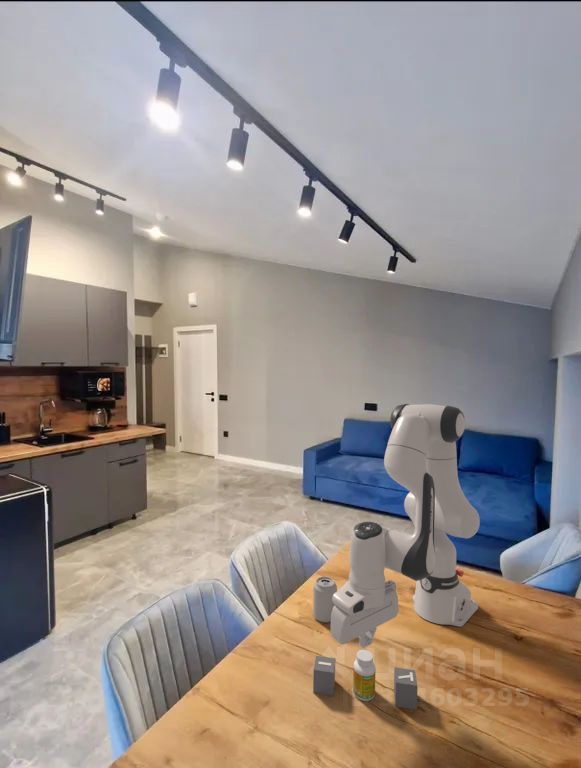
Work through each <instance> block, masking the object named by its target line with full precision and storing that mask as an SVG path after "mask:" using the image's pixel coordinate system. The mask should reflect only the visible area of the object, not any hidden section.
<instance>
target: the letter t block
mask: <svg viewBox="0 0 581 768" xmlns="http://www.w3.org/2000/svg"><path fill="white" fill-rule="evenodd" d="M393 668H394V670H393V671H394V673H393V674H394V675H393V695H394V697H393V698H394V706H395V707H398V708H402V709H410V710H416V711H417V710H418V679H417V674H416V670H415V669H409V668H404V667H396V666H394V667H393Z"/></svg>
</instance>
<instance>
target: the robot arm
mask: <svg viewBox="0 0 581 768" xmlns="http://www.w3.org/2000/svg"><path fill="white" fill-rule="evenodd" d="M465 427H466V420H465V415H464V413H463V411H461V409H460V408H458V407H456V406H451V405H441V404H431V403H425V404H424V403H421V404H417V403H416V404H415V403H414V404H409V403H403V404H400V405H397V406H396V407H394V409H393V410H392V411H391V415H390V428H391V429H392V430H391V433H390V435H389V437H388V441H387V446H386V449H385V452H384V457H383V458H384V459H383V467H384V469H385V471H386V473H387V474H388V476H389V477H390V478H391V479H392V480H393V481H395V482H396V483H397V484H398V485H400V486H401V487H403V488H405V489H406V490H407V491H409V492H408V494H406V497H405V499H404V503H403V507H404V511H405V513H406V514H407V516H408V517H409V519H410V520H411V522H412V523H413V525H414V532H413V534H410V533H406V532H402V531H400V530H396V529H394V528H390V527H387V526H383V525H380V524H379V523H377V522H374V521H362V522H360V523H357V524H356V525H354V527H353V528H352V531H351V535H350V540H349V541H350V542H349V551H348V553H349V554H348V562H349V566H350V571H349V574H348V580H347V581H346V582H345V583H344V585H342V586H341V587H340V588H339V589H337V592H336V593H334V595H333V597H332V601H333V603H334V604H335V606H334V607H333V609H332V613H331V622H330V634H331V636H332V638H333V639H334V640H335V641H336V642H337V643H339V644H340V645H345V644H347V643H349V642H350V641H353V640H354V639H356V638H358V643H359V646H360V647H361V648H362V649H365V648H367V647H369V646H371V645H372V644H373V642H374V641H373V640H374V639H373V638H374V637H375V634H376V632H377V627H379V626H381V625H383V624H385V623H387V622H389V621H391V620H393V619H395V618H396V617H397V616H398V614H399V597H398V593H397V583H395V581H393V580H387V581H386V576H385V569H388V570H390V571H394V572H395V573H399V574H401V575H402V576H405V577H407V578H409V579H411V580H413V581H416V584H415V591H414V592H415V593H414V594H413V595H412V601H413V609H414V611H415V613H416V614H417V615H418V616H419V617H421V618H422V619H424V620H426V621H427V622H431V623H433V624H438V625H448V626H450V625H451V626H453V627H455V626H456V627H460V628H461V627H464V625H465V624H466V623H467V622H468V621H469V620H470V618H471V617H472V616H473V615H474V614H475V613H476V612H477V611H478V610H479V604H478V603H477V602H476V601H475V600H474V599H473V598H472V594H471V590H470V589H469V587H468V586H467V585H466V584H464V583H463V582H462V581H460V580H459V577H460V578H462V577H463V576H464V575H465V574H464V570H461V569H460V568H457V550H456V549H457V548H456V547H455V544H454V543H453V541H451V539H450V538H449V537H448V536H447V535H450V536H452V537H456V538H463V539H470V538H472V537H474V535H476V534H477V532H478V531H479V528H480V525H481V524H480V523H481V521H480V520H481V519H480V515H479V513H478V511H477V509H476V508H475V507H474V506H472V505H471V503H470V502H469V500H468V499H467V497H466V495H465V494H464V492H463V490H462V487H461V484H460V481H459V475H458V463H457V462H458V459H457V457H458V456H457V454H458V453H457V442H458V440H459V439H460V438H461V439H462V437H463V435H464V432H465Z"/></svg>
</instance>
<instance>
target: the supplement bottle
mask: <svg viewBox="0 0 581 768" xmlns="http://www.w3.org/2000/svg"><path fill="white" fill-rule="evenodd" d="M376 668H377V667H376V664H375V663H374V656H373V654H372V652H371V651H369V650H366V649H360V650H358V651H357V653H356V659H355V660H354V662H353V677H352V679H353V680H352V682H353V684H352V691H353V694H354V696H355V697H356V698H357V699H358V700H360V701H363V702H369V701H372V700H373V699H374V698H375V696H376V675H377V674H376V672H377V670H376Z"/></svg>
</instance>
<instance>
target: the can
mask: <svg viewBox="0 0 581 768" xmlns="http://www.w3.org/2000/svg"><path fill="white" fill-rule="evenodd" d="M337 585H338V584H336V581H335V579H333V578H332V577H330V576H326V575H325V576H319V577H316V580H315V582H314V583H313V598H312V600H313V601H312V602H313V603H312V604H313V605H312V608H313V609H312V615H313V617H314V618H315V619H316V620H317V622H320V623H324V624H325V623H326V624H327V623H331V613H332V609H333V607H334V606H335V604H334V603H333V601H332V597H333V595H334V593H336V592H337V591H338V586H337Z"/></svg>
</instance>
